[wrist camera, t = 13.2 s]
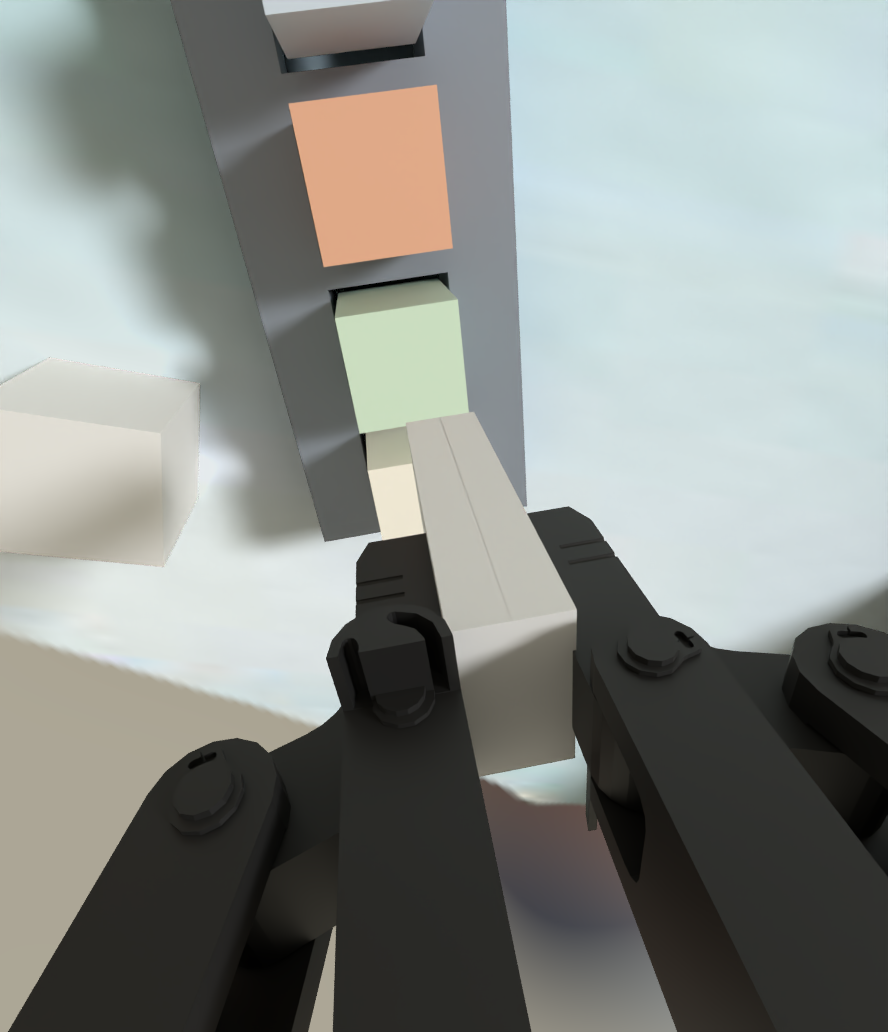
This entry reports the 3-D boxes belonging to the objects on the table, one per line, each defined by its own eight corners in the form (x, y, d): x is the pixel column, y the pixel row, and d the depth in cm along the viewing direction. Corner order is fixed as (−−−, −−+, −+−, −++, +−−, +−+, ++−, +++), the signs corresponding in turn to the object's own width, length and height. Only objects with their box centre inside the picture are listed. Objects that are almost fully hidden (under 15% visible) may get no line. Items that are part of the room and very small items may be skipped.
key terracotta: (432, 236, 21) (452, 248, 17) (329, 251, 21) (323, 267, 16) (417, 108, 19) (436, 84, 15) (302, 122, 19) (288, 103, 14)
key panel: (511, 478, 29) (526, 506, 27) (327, 510, 29) (324, 541, 26) (475, -162, 17) (496, -224, 14) (152, -130, 16) (116, -188, 14)
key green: (448, 375, 24) (469, 415, 20) (358, 389, 24) (359, 433, 19) (437, 278, 22) (457, 299, 17) (338, 292, 21) (334, 318, 17)
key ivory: (460, 484, 27) (481, 539, 22) (380, 498, 26) (386, 556, 22) (452, 407, 25) (472, 453, 20) (365, 422, 24) (367, 470, 20)
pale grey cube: (65, 480, 26) (-6, 551, 21) (50, 356, 23) (-37, 403, 18) (199, 497, 27) (164, 567, 22) (201, 382, 24) (160, 433, 19)
